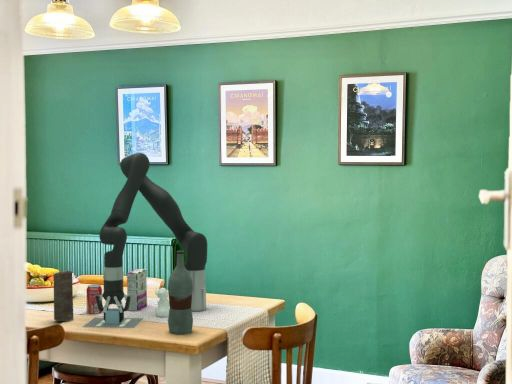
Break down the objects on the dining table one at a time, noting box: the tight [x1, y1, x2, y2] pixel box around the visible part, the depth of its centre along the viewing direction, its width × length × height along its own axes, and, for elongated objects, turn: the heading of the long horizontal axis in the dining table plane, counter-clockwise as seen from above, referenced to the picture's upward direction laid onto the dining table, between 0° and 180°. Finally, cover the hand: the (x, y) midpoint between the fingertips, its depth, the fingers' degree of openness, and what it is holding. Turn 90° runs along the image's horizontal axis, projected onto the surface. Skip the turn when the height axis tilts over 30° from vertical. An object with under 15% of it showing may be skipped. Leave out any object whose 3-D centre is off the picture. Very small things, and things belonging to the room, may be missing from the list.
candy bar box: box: [126, 268, 148, 312], centre depth 285 cm, size 11×5×16 cm, turn 168°
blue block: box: [105, 307, 120, 324], centre depth 257 cm, size 5×5×5 cm
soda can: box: [86, 284, 103, 315], centre depth 274 cm, size 6×6×12 cm
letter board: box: [82, 317, 145, 329], centre depth 257 cm, size 20×16×1 cm
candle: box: [52, 270, 74, 322], centre depth 261 cm, size 8×7×20 cm
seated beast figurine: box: [154, 287, 170, 318], centre depth 269 cm, size 10×9×12 cm
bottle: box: [167, 250, 194, 335], centre depth 244 cm, size 9×9×30 cm
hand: (113, 321), depth 257 cm, fingers closed on blue block, 5 cm apart
